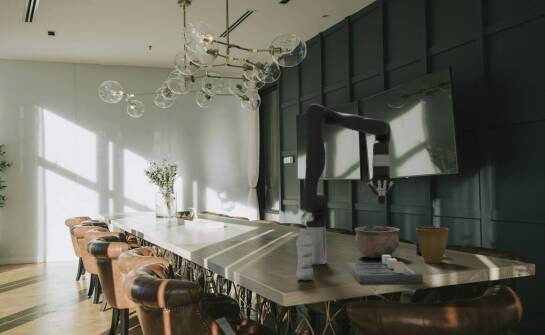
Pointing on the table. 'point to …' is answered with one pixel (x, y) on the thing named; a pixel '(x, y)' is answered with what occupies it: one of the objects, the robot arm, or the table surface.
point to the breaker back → (385, 258)
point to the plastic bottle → (304, 256)
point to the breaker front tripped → (398, 267)
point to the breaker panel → (383, 273)
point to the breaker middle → (391, 262)
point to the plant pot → (432, 243)
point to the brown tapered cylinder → (417, 239)
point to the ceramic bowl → (377, 241)
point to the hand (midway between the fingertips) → (381, 204)
